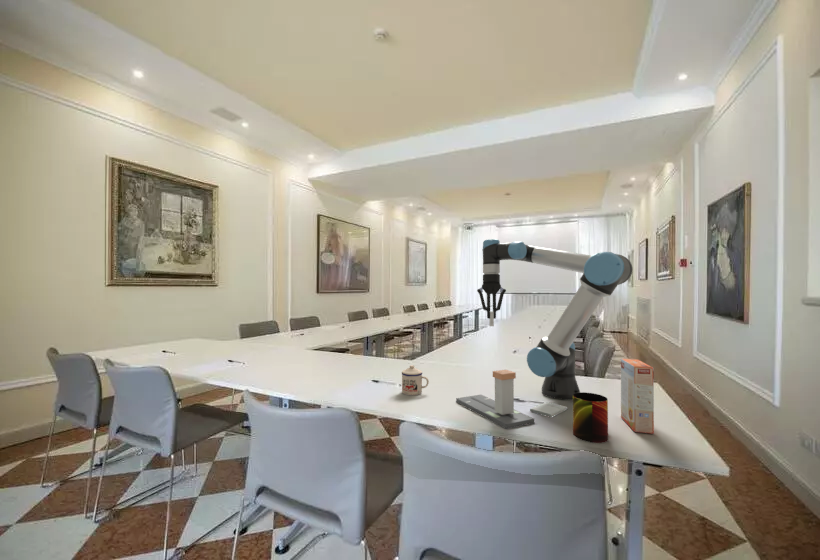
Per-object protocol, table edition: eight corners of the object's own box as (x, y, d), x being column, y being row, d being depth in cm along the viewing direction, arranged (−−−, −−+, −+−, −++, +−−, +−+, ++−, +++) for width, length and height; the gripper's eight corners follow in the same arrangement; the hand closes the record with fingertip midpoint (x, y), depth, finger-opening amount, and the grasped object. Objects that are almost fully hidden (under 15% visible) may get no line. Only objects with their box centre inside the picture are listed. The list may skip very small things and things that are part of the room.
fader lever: (492, 411, 127) (492, 371, 127) (506, 408, 129) (506, 369, 130) (502, 415, 122) (501, 374, 122) (515, 413, 125) (515, 372, 125)
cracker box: (655, 434, 111) (654, 367, 112) (633, 432, 113) (632, 366, 113) (639, 419, 125) (639, 358, 125) (620, 417, 126) (619, 357, 127)
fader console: (456, 402, 143) (456, 397, 143) (481, 398, 148) (481, 394, 148) (506, 428, 116) (506, 423, 116) (534, 423, 121) (534, 418, 121)
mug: (602, 427, 117) (602, 390, 117) (611, 445, 104) (610, 403, 104) (570, 423, 120) (570, 387, 120) (574, 440, 107) (574, 399, 107)
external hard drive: (529, 412, 132) (546, 405, 140) (551, 418, 126) (567, 410, 134) (529, 408, 132) (546, 401, 140) (551, 414, 126) (567, 406, 134)
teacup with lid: (398, 394, 153) (398, 367, 153) (405, 388, 162) (405, 362, 162) (425, 397, 149) (425, 369, 150) (431, 391, 158) (431, 364, 158)
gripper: (504, 274, 166) (504, 325, 165) (475, 274, 167) (476, 325, 166) (507, 273, 158) (507, 326, 158) (477, 273, 159) (477, 326, 159)
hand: (491, 325), depth 162 cm, fingers closed
